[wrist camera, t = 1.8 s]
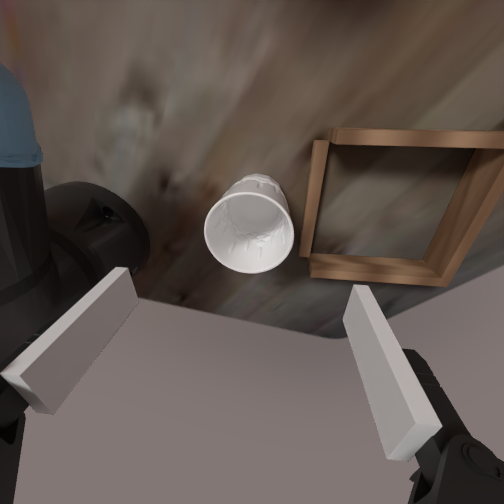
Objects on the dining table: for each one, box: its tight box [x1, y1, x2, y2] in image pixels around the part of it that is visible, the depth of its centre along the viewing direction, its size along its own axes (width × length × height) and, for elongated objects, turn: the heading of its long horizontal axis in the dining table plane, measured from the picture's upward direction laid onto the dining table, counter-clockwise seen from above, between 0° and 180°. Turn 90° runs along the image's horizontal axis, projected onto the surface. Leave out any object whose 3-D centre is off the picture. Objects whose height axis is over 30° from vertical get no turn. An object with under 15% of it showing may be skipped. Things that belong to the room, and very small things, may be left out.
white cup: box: [204, 173, 294, 273], centre depth 24 cm, size 8×8×10 cm
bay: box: [298, 128, 504, 287], centre depth 25 cm, size 18×16×4 cm
